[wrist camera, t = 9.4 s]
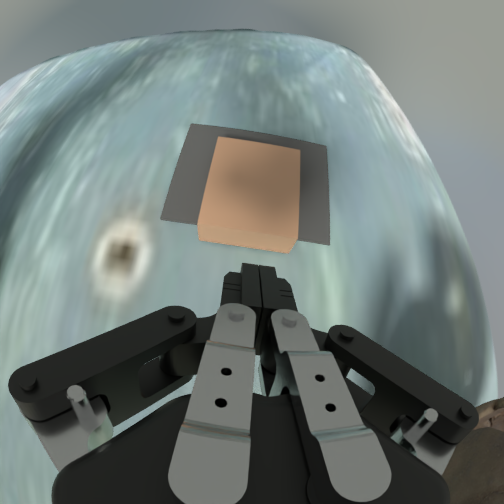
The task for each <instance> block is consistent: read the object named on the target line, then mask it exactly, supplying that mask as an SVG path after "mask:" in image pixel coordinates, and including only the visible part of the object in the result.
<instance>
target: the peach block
mask: <svg viewBox="0 0 504 504" xmlns="http://www.w3.org/2000/svg"><path fill="white" fill-rule="evenodd" d="M299 197H300V150H298V149H293V148H288V147H282V146H277V145H271V144H266V143H260V142H254V141H247V140H241V139H234V138H226V137H219V136H218V139H217V143H216V147H215V151H214V155H213V159H212V163H211V167H210V171H209V175H208V179H207V183H206V187H205V192H204V196H203V200H202V205H201V209H200V214H199V218H198V223H197V225H198V235H199V240H201V241H207V242H214V243H221V244H228V245H234V246H241V247H248V248H255V249H261V250H268V251H275V252H281V253H288V254H289V252H290V250H291V249H292V247H293V246H294V244H295V243H296V241H297V239H298V225H299Z"/></svg>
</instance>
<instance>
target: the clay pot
mask: <svg viewBox="0 0 504 504" xmlns="http://www.w3.org/2000/svg"><path fill="white" fill-rule="evenodd" d="M476 410H477V412H478V414H479V422H478V424H477V426H476V427H475V428H474V429H473V430H472V431H471V432H470V433H469V434H468V435H467V436H466V437H465V438H464V439H463V440H462V441H461V442H460V443H459V444H458V445H457V446H456V447H455V450H454V452H453V454H452V456H451V458H450V460H449V462H448V464H447V466H446V468H445V470H444V472H443V474H442V477H443V478H444V479H445V481H446V483H447V485H448V488H449V491H450V504H504V397H503V398H500V399H496V400H492V401H489V402H487V403H484V404H482V405H480V406H478V407H476Z"/></svg>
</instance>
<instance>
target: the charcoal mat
mask: <svg viewBox="0 0 504 504" xmlns="http://www.w3.org/2000/svg"><path fill="white" fill-rule="evenodd" d="M218 136H219V137H226V138H234V139H241V140H247V141H254V142H260V143H266V144H271V145H277V146H282V147H288V148H293V149H298V150H300V197H299V225H298V239H297V240H300V241H306V242H312V243H319V244H325V245H330V213H329V184H328V164H327V149H326V146H324V145H320V144H315V143H311V142H306V141H301V140H297V139H292V138H287V137H281V136H276V135H271V134H265V133H259V132H253V131H246V130H239V129H232V128H225V127H217V126H208V125H199V124H191V125H190V128H189V131H188V134H187V136H186V139H185V142H184V145H183V148H182V151H181V153H180V156H179V159H178V162H177V165H176V168H175V171H174V175H173V178H172V181H171V184H170V187H169V191H168V194H167V197H166V201H165V204H164V208H163V211H162V215H161V218H160V219H161V220H166V221H173V222H181V223H188V224H195V225H197V223H198V218H199V214H200V209H201V205H202V200H203V196H204V192H205V187H206V183H207V179H208V175H209V171H210V167H211V163H212V159H213V155H214V151H215V147H216V143H217V139H218Z"/></svg>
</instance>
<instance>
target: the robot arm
mask: <svg viewBox="0 0 504 504" xmlns="http://www.w3.org/2000/svg"><path fill="white" fill-rule="evenodd" d="M255 355H260V363H259V367H258V373H259V380H260V386H261V392H262V395H260V394H256V393H253V380H254V366H255ZM158 356H159V357H158ZM156 357H157V358H156ZM154 358H155V359H154ZM152 359H153V360H152ZM151 360H152V361H151ZM149 361H150V362H149ZM147 362H148V363H147ZM145 363H146V364H145ZM351 368H352V369H353V370H355V371H356V372H357V373H359V374H360V375H362V376H363V377H365V378H366V379H367V380H369V381H370V382H372V383H373V385H374V387H375V394H374V395H373V396H372V395H370V394H369V393H367V392H366V391H364V390H363V389H362V388H360V387H359V386H358V385H356V384H355V383H353V382H352V381H351V380H349V379H348V378H347V377H346V376H347V375H348V373H349V371H350V369H351ZM196 374H197V376H196V380H195V383H194V387H193V391H192V394H188V395H184V396H180V397H178V398H175V399H173V400H171V401H169V402H167V403H166V404H164V405H163V406H161V407H160V408H158V409H157V410H155V411H154V412H152V413H151V414H149V415H148V416H146V417H145V418H143V419H142V420H140V421H139V422H137V423H136V424H134V425H132V426H131V427H129V428H128V429H126V430H125V431H123V432H121V433H120V434H118V435H117V436H115V437H113V438H112V436H113V432H114V431H113V427H114V426H116V425H118V424H120V423H122V422H123V421H125V420H127V419H129V418H130V417H132V416H134V415H135V414H137V413H139V412H141V411H142V410H144V409H146V408H147V407H149V406H151V405H152V404H154V403H155V402H157V401H159V400H160V399H162V398H164V397H165V396H167V395H168V394H170V393H172V392H173V391H175V390H176V389H178V388H180V387H181V386H183V385H184V384H186V383H187V382H189V381H190V380H191V379H192V377H193V375H196ZM8 387H9V391H10V393H11V395H12V397H13V398H14V400H15V402H16V403H17V405H18V407H19V409H20V412H21V413H22V415H23V416H24V418H25V419H26V421H27V422H28V424H29V425H30V426H31V428H32V429H33V431H34V432H35V433H36V434H37V435H38V437H39V439H40V441H41V443H42V445H43V446H44V448H45V450H46V452H47V453H48V455H49V457H50V458H51V460H52V462H53V463H54V465H55V467H56V468H57V470H58V471H59V474H58V475H57V477H56V479H55V481H54V484H53V487H52V504H450V491H449V488H448V485H447V483H446V481H445V479H444V478H443V477H442V474H443V472H444V470H445V468H446V466H447V464H448V462H449V460H450V458H451V456H452V454H453V452H454V450H455V447H456V446H457V445H458V444H459V443H460V442H461V441H462V440H463V439H464V438H465V437H466V436H467V435H468V434H469V433H470V432H471V431H472V430H473V429H474V428H475V427H476V426H477V424H478V422H479V414H478V412H477V410H476V408H475V407H474V406H473V405H472V404H471V403H469V402H468V401H466V400H465V399H463V398H462V397H460V396H458V395H457V394H455V393H454V392H452V391H450V390H449V389H447V388H446V387H444V386H443V385H441V384H439V383H438V382H436V381H435V380H433V379H432V378H430V377H429V376H427V375H425V374H424V373H422V372H421V371H419V370H418V369H416V368H414V367H413V366H411V365H410V364H408V363H407V362H405V361H404V360H402V359H400V358H399V357H397V356H396V355H394V354H393V353H391V352H390V351H388V350H386V349H385V348H383V347H382V346H380V345H379V344H377V343H376V342H374V341H373V340H371V339H369V338H368V337H366V336H365V335H363V334H362V333H360V332H359V331H357V330H355V329H354V328H352V327H349V326H346V325H335V326H332V327H331V328H330V329H329V332H328V333H325V332H321V331H318V330H315V329H312V328H310V326H309V323H308V321H307V319H306V318H305V317H304V316H303V315H302V314H300V313H299V312H298V310H297V307H296V303H295V299H294V296H293V292H292V288H291V285H290V284H289V283H288V282H287V281H286V280H285V279H282V278H277V275H276V271H275V267H270V266H262V265H259V266H258V265H255V264H247V263H242V266H241V272H240V273H236V272H229V273H228V274H226V275H225V276H224V282H223V290H222V297H221V304H220V307H219V309H218V311H217V313H216V314H214V315H212V316H210V317H205V318H197V317H196V315H195V313H194V312H193V311H191V310H190V309H188V308H186V307H182V306H168V307H165V308H162V309H160V310H158V311H155V312H153V313H151V314H148V315H146V316H144V317H141V318H139V319H137V320H134V321H132V322H129V323H127V324H125V325H122V326H120V327H118V328H115V329H113V330H111V331H108V332H106V333H103V334H101V335H99V336H96V337H94V338H91V339H89V340H87V341H84V342H82V343H79V344H77V345H74V346H72V347H70V348H67V349H65V350H62V351H60V352H57V353H55V354H52V355H50V356H47V357H45V358H43V359H40V360H38V361H35V362H33V363H30V364H28V365H25V366H23V367H20V368H19V369H17V370H16V371H15V372H14V373H13V374H12V375H11V377H10V379H9V383H8Z"/></svg>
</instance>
